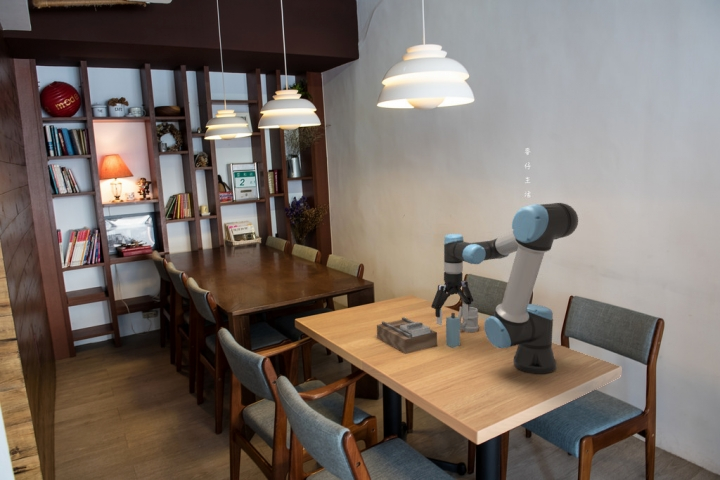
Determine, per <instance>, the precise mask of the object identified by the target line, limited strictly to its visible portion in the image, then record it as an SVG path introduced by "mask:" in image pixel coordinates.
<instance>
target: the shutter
mask: <svg viewBox="0 0 720 480" xmlns="http://www.w3.org/2000/svg"><path fill="white" fill-rule="evenodd" d="M413 322H414V323H409V324H405V325H400V330H402V331H404V332H406V333H408V334H410V335H411V337H415V336H420V335H424V334H429V333H430V329H431V327H430V326H428V325H425V324H424V323H423V322H418V321H413Z"/></svg>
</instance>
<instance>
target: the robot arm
mask: <svg viewBox="0 0 720 480" xmlns="http://www.w3.org/2000/svg"><path fill="white" fill-rule="evenodd" d="M578 216H579V215H578V214H577V211H576V210H575V208H573V207H572V206H571V205H569V204H568V203H564V202H555V203H554V202H553V203H545V204H544V203H543V204H539V203H538V204H537V203H534V204H530V205H526V206H522V207H521V208H519V209H518V211H516V213H515V214H514V216H513V218H512V222H511V229H512V231H511V232H508V233H506V234H503V235H501V236H499V237H497V238H494V239H491V240H485V241H484V240H483V241H475V242H467V241H464V236H463V235H462V234H460V233H449V234H445V236H444V243H443V255H444V256H443V271H444V272H443V281H444V285H443V284H438V285H437V291H436V293H435V296H434V298H433V301H432V302H431V303H432V304H431V308H432V309H434V310H435V314H434V315H435V317H436V325H439V326H443V309H442V307H443V306H444V305H445V303H446V301H447V300H448V298H450V296H453V295H458V296H459V297H460V299H461V300H462V301H463V303H462V317H461V319H463V318H464V319H466V320H468V311H469V307H470V305H472V303H473V302H474V298H473V295H472V293H471V291H470V288H469V282H468V281H466V280H463V268H464V264H463V263H468V264H470V265H480V264H481V263H483V261H488V260H496V259H499V260H500V259H505V258H507V257H508V256H509V255H510V254H513V253H515V252H516V253H515V256H514V259H513V262H512V266H511V270H510V273H509V276H508V277H509V278H508V281H507V284H506V286H505V291H504V294H503V299H502V301H501V303H499V304H498V305H496V307H495V310H494V314H493V315H490V316H489V317H487V318H486V319H485V321H484V326H483V327H484V328H483V329H484V333H485V335H486V338H487V340H488V342H489V343H490V344H491V345H492V346H493V347H495V348H497V349H504V348H505V349H507V348H508V349H509V348H510V347H511V348H512V347H515V346H517V348H516V352H515V353H514V354H515V355H514V356H513V366H514V367H515V368H516V369H518V370H520V371H522V372H525V373H529V374H537V375H538V374H539V375H540V374H542V375H543V374H550V373H552V372H554V371H556V369H557V361H556V358H555V356H554V351H553V347H552V346H553V344H552V343H553V342H552V341H553V329H554V327H553V326H554V319H553V314H554V312H553V311H552V309H551V308H549V307H547V306H543V305H540V304H539V305H538V304H534V303H530V301H531V297H532V295H533V290H534V288H535V285H536V284H535V283H536V281H537V278H538V275H539V272H540V268H541V265H542V262H543V259H544V256H545V253H547V252H550V251H551V249H552V247H553V243H554V240H558V239H561V238H566V237H569V236H570V235H572V234H573V233H574V232H575V231H576V230H577V228H578V225H579V217H578Z"/></svg>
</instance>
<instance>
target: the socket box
mask: <svg viewBox="0 0 720 480" xmlns="http://www.w3.org/2000/svg"><path fill="white" fill-rule="evenodd" d="M414 322H415V321H414V320H411V319H408V318H407V317H405V316H404V317H401V319H399V320H394V321H389V322H386V321H385V320H383V321H381V323H380V324H376V338H377V339H378V340H380V341H381V342H383V343H385V344H386V345H389V346H390V347H393V349H396V350H398V351H399V352H401V353H403V354H405V355H406V354H410V353H414V352H419V351H422V350H426V349H431V348H435V347H438V331H435V330H432V329H431V328H430V333H429V334H424V335H420V336H415V337H411V335H410V334H408V333H406V332H404V331H402V330H400V325H405V324H409V323H414Z"/></svg>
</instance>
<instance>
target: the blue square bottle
mask: <svg viewBox="0 0 720 480" xmlns="http://www.w3.org/2000/svg"><path fill="white" fill-rule="evenodd" d="M450 314H451V315H450V316H447V317H445V319H446V320H445V321H446V323H445V340H446V341H445V345H446V346H448V347H450V348H452V349H454V348H457V347H460V346H461V345H460V344H461V343H460V342H461V339H460V338H461V336H460V335H461V330H460V318H458V316H456V312H451V313H450Z"/></svg>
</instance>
